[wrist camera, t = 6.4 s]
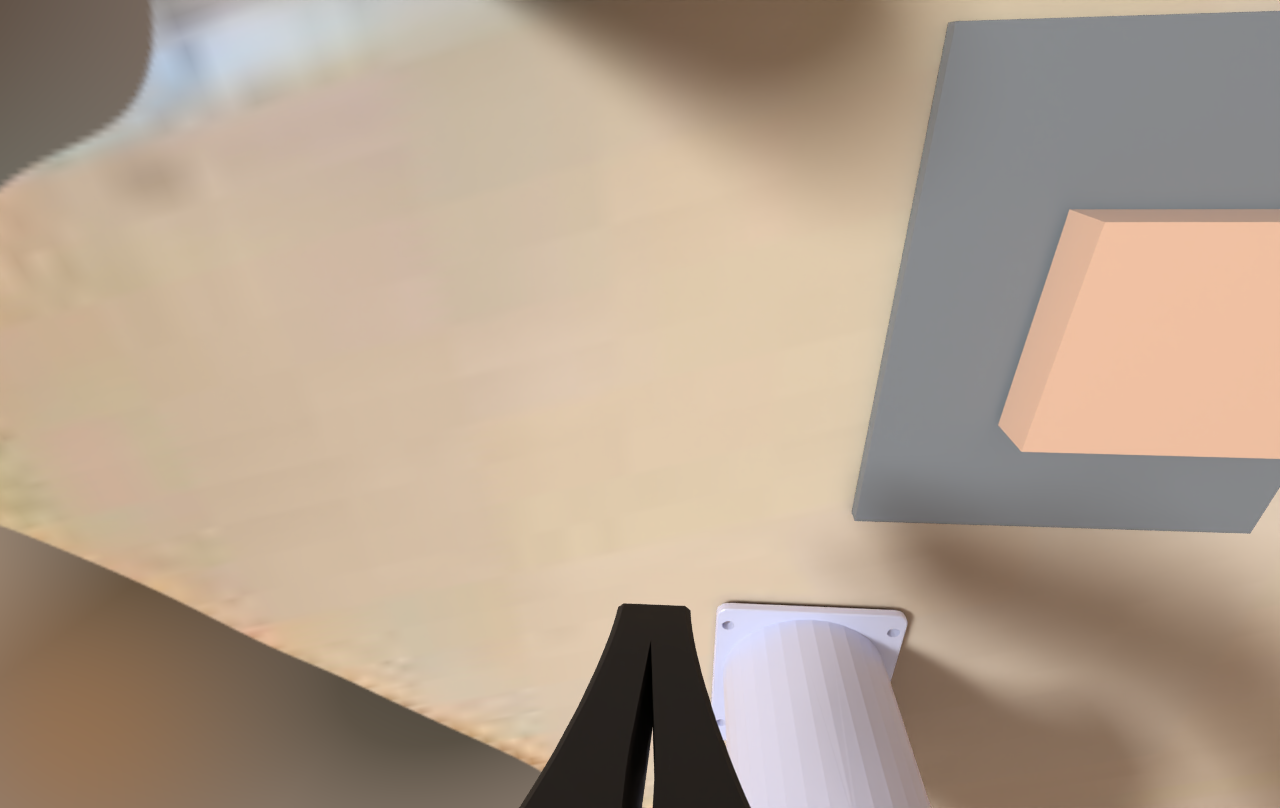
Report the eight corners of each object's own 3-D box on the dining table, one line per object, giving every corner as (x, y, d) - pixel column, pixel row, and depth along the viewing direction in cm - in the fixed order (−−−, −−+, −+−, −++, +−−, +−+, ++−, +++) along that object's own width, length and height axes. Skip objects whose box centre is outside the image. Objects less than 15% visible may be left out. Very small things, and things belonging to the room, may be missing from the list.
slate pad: (1239, 524, 22) (1250, 533, 21) (851, 512, 23) (854, 520, 22) (1561, 3, 14) (1590, 1, 13) (947, 22, 15) (956, 21, 15)
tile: (995, 422, 20) (1282, 429, 19) (1021, 451, 18) (1334, 460, 18) (1065, 208, 16) (1417, 207, 16) (1104, 222, 15) (1496, 222, 14)
